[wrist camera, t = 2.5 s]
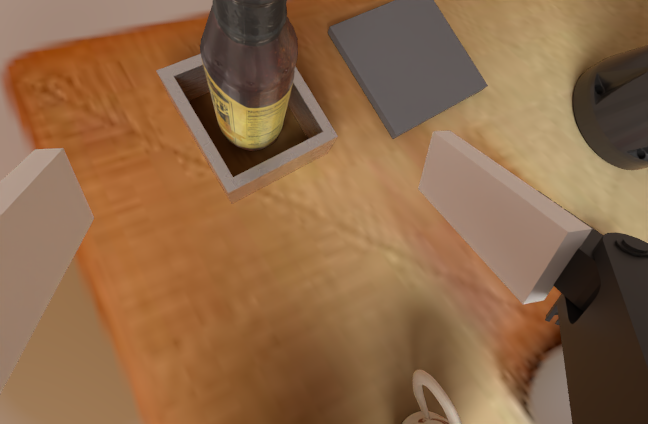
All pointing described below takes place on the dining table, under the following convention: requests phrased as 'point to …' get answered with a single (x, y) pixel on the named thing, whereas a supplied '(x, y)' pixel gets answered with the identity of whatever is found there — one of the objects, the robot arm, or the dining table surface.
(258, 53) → the sauce bottle
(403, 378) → the dining table surface
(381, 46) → the rubber mat
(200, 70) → the grey shallow open box
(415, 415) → the mug
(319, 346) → the dining table surface
